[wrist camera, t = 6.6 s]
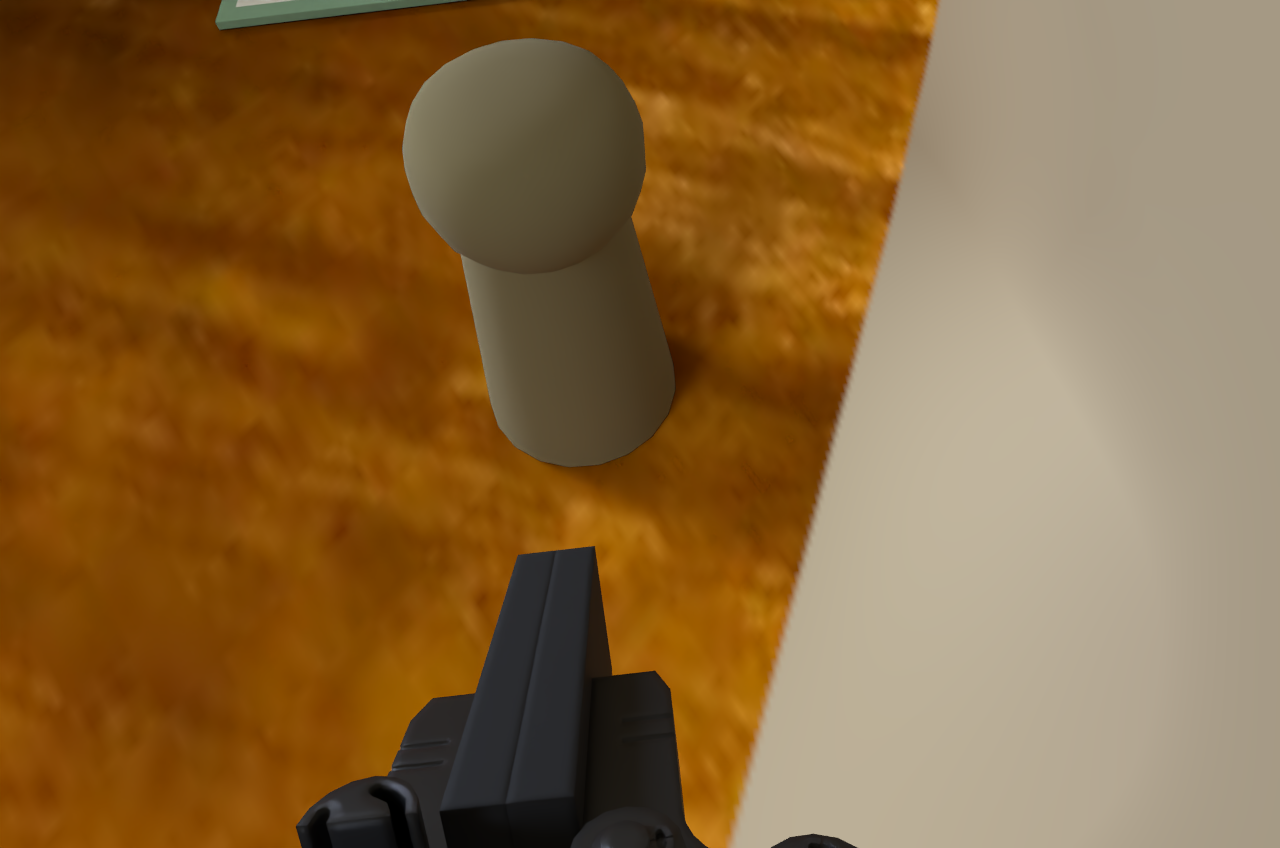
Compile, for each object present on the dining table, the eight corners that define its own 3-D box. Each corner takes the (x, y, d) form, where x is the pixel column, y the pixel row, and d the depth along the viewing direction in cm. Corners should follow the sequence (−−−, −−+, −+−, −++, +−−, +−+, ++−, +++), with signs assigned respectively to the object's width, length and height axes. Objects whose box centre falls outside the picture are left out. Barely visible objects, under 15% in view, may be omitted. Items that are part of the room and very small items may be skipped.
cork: (540, 501, 23) (425, 244, 13) (461, 359, 25) (318, 61, 16) (711, 409, 24) (722, 111, 14) (618, 283, 27) (574, -38, 17)
